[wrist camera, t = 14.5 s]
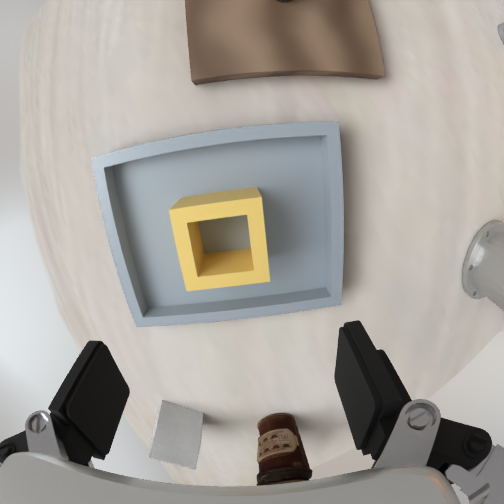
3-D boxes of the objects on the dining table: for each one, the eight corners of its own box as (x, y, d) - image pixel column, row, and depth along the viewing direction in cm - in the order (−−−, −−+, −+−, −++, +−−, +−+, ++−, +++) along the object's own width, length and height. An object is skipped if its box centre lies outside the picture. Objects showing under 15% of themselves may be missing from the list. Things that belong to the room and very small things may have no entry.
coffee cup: (240, 419, 39) (243, 488, 27) (285, 402, 38) (298, 474, 26) (267, 438, 42) (274, 498, 30) (308, 422, 41) (323, 484, 29)
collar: (256, 187, 25) (261, 197, 20) (264, 257, 27) (270, 281, 23) (181, 197, 25) (168, 209, 20) (194, 266, 27) (186, 291, 23)
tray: (327, 123, 24) (338, 121, 21) (333, 290, 30) (341, 304, 28) (104, 155, 24) (90, 158, 21) (143, 312, 30) (136, 327, 28)
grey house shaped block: (162, 399, 37) (151, 452, 27) (203, 412, 38) (199, 465, 29) (157, 410, 38) (147, 460, 28) (196, 422, 39) (192, 472, 30)
